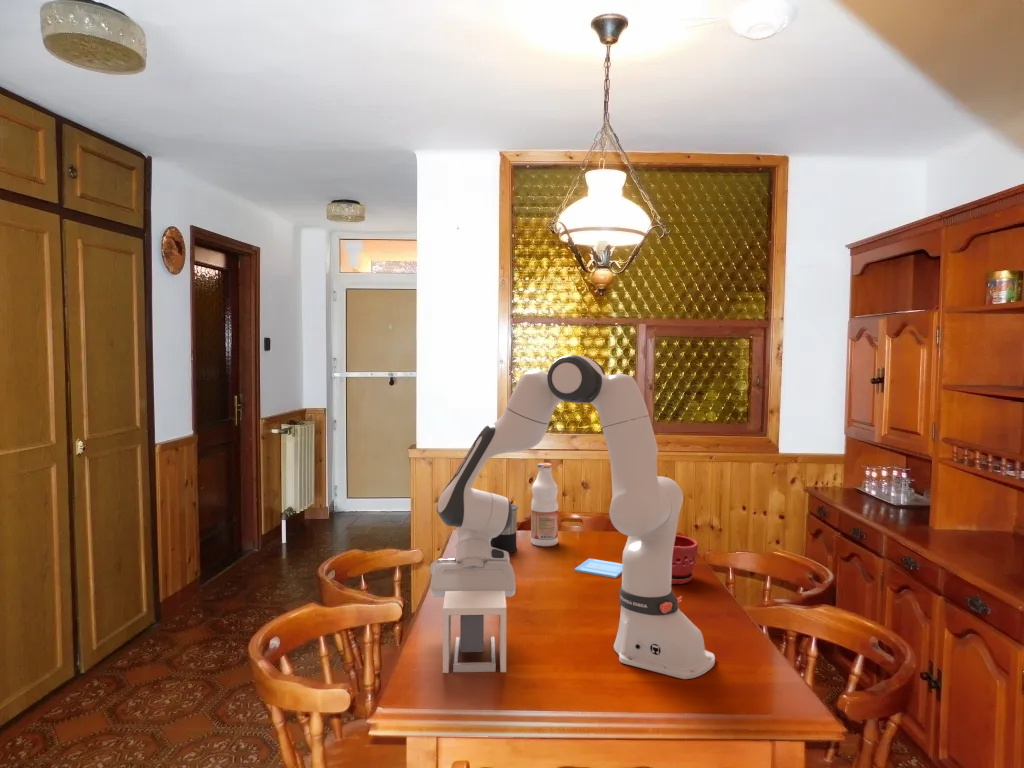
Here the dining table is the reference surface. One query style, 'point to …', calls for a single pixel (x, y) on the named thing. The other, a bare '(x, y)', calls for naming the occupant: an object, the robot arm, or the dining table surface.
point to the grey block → (472, 633)
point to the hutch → (474, 606)
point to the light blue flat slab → (600, 568)
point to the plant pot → (683, 559)
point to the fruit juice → (544, 508)
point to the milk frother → (507, 536)
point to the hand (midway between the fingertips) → (472, 613)
